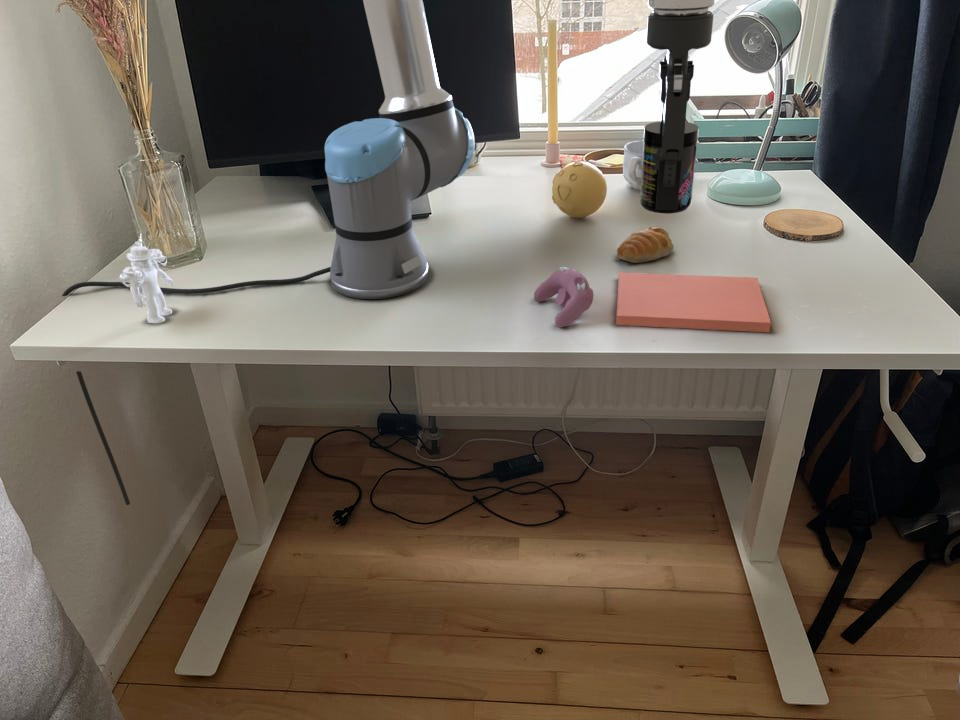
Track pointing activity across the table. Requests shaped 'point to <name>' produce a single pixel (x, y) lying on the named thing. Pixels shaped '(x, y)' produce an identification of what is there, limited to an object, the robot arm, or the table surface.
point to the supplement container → (651, 166)
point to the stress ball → (579, 189)
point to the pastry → (646, 245)
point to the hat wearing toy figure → (147, 281)
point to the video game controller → (566, 294)
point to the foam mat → (691, 302)
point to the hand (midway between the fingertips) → (665, 199)
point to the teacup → (633, 163)
